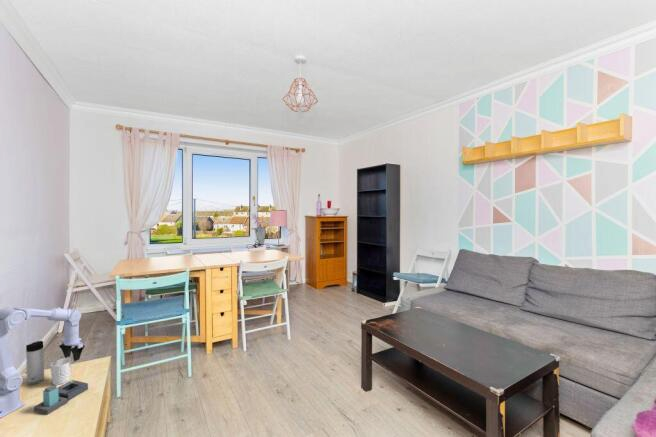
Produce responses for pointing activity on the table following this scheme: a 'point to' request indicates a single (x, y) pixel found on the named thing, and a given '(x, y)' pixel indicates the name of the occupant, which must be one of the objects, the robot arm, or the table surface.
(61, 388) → the port
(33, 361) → the travel mug
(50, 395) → the plug
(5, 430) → the table surface
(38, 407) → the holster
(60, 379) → the clear glass jar
